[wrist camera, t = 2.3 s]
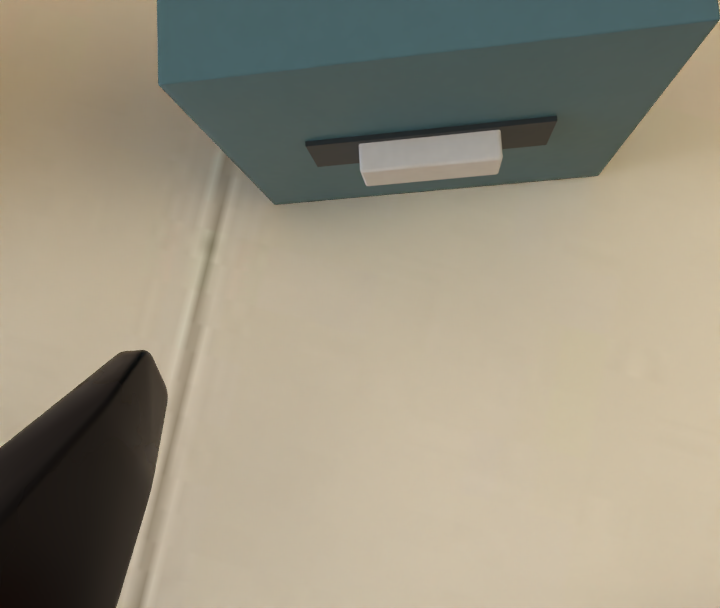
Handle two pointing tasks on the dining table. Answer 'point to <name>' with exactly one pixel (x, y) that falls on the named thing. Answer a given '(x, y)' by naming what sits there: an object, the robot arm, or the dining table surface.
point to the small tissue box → (420, 87)
